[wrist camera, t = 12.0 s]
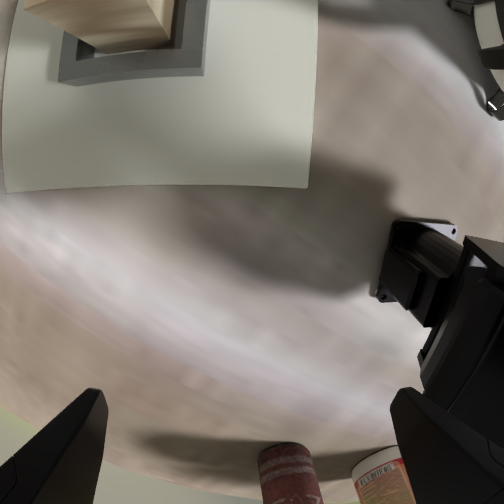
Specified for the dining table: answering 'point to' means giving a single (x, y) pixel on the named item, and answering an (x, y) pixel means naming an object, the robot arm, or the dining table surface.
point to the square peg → (113, 22)
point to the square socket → (138, 56)
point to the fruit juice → (383, 479)
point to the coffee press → (488, 42)
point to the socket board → (168, 107)
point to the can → (288, 475)
